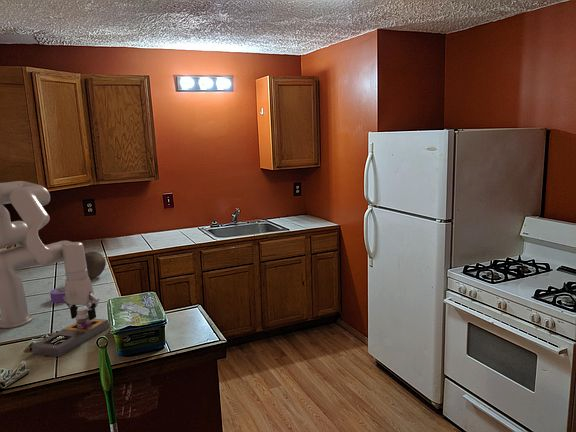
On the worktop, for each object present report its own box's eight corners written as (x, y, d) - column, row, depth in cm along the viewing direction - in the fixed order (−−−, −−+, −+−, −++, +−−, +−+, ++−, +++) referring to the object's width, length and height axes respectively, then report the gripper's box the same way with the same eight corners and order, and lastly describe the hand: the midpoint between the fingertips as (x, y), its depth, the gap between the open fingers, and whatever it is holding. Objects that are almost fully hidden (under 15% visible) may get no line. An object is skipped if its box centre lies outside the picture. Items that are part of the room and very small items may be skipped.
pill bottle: (75, 335, 171) (71, 311, 170) (84, 329, 176) (80, 306, 175) (87, 335, 170) (83, 311, 169) (96, 329, 175) (92, 306, 174)
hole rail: (32, 353, 158) (31, 345, 157) (85, 324, 181) (84, 317, 180) (58, 356, 154) (57, 348, 153) (109, 327, 177) (108, 319, 176)
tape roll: (79, 299, 214) (78, 289, 213) (52, 305, 208) (50, 295, 207) (76, 293, 224) (75, 283, 223) (50, 299, 218) (49, 289, 217)
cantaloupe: (86, 283, 238) (82, 256, 236) (75, 279, 248) (71, 253, 245) (111, 276, 248) (108, 250, 246) (100, 273, 258) (96, 247, 255)
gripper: (51, 276, 169) (58, 320, 172) (87, 278, 163) (94, 323, 166) (67, 271, 176) (73, 313, 179) (102, 272, 170) (108, 315, 173)
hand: (83, 317), depth 172 cm, fingers open, 8 cm apart
